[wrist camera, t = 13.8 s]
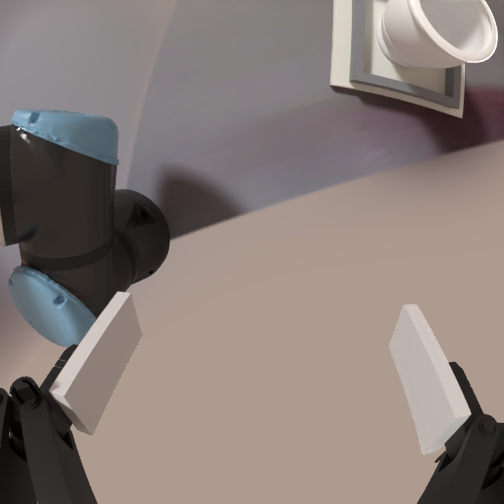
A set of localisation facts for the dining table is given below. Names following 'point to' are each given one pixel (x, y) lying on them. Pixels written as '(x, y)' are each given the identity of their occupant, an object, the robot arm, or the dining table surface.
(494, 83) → the dining table surface
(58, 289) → the robot arm
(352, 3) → the socket board
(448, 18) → the jar
